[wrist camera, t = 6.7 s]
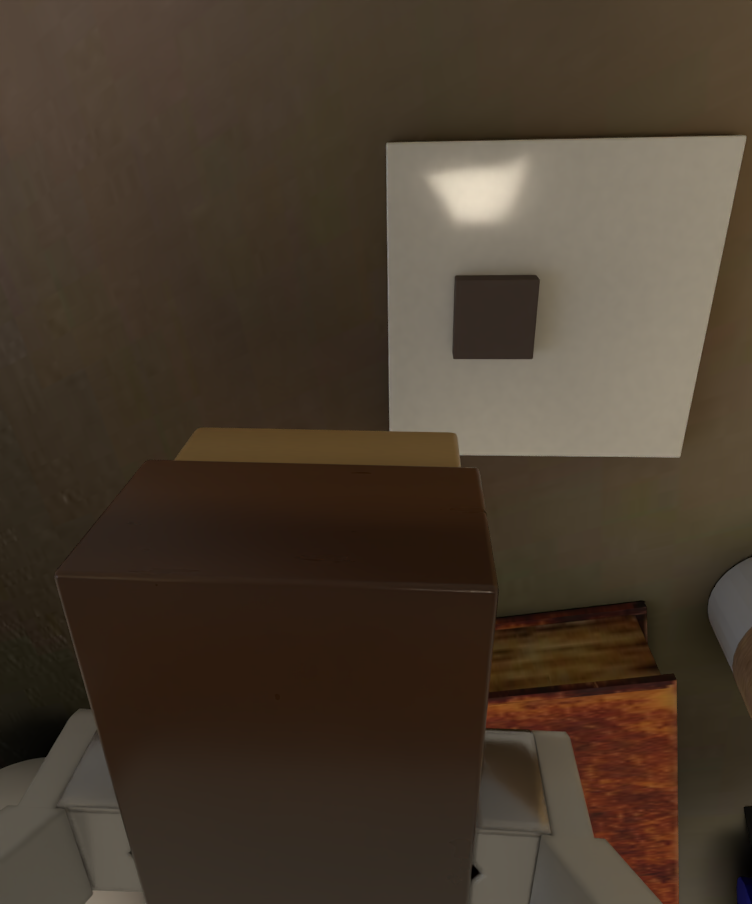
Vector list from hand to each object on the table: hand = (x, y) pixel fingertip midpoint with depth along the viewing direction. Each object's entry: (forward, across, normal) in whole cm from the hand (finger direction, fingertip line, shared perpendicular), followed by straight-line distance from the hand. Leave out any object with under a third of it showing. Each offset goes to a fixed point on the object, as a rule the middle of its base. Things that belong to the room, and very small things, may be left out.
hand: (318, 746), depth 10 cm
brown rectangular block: (+2, 0, 0) cm, 2 cm away
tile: (+19, -6, -2) cm, 20 cm away
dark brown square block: (+18, -4, -2) cm, 19 cm away
